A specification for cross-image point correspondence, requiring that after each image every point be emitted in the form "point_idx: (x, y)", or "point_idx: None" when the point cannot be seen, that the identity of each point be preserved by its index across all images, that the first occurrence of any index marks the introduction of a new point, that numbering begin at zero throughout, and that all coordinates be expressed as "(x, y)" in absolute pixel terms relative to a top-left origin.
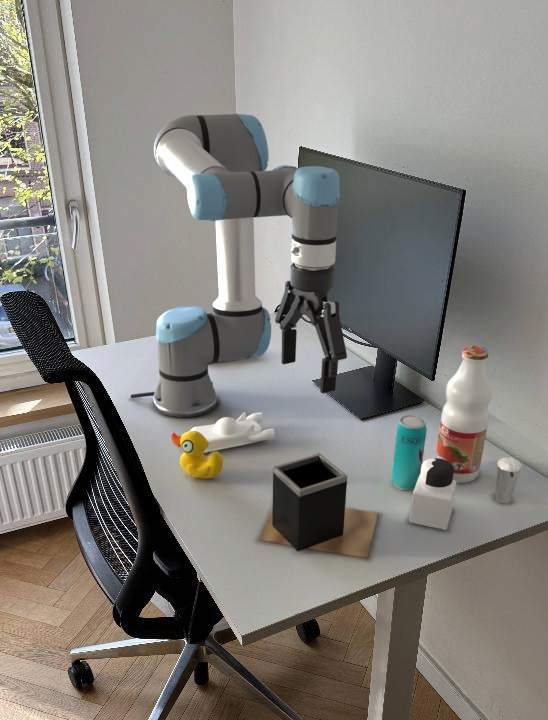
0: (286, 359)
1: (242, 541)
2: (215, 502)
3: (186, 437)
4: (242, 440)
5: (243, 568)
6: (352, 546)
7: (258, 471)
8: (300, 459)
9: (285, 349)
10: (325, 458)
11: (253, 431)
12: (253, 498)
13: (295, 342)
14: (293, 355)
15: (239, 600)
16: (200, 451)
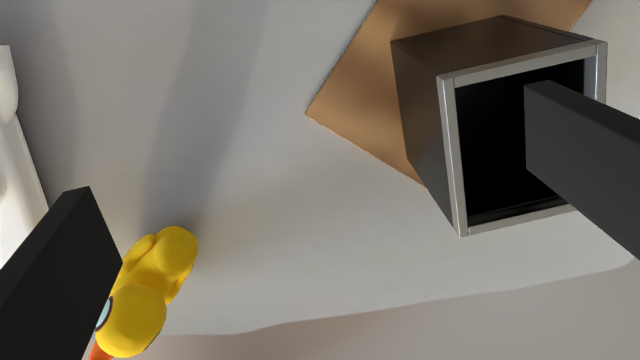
0: (106, 262)
1: (426, 222)
2: (276, 244)
3: (136, 353)
4: (14, 138)
5: (501, 238)
6: (551, 10)
7: (165, 123)
8: (455, 153)
9: (90, 319)
10: (483, 73)
11: None
12: (284, 166)
13: (35, 271)
14: (80, 225)
15: (572, 260)
16: (165, 304)
